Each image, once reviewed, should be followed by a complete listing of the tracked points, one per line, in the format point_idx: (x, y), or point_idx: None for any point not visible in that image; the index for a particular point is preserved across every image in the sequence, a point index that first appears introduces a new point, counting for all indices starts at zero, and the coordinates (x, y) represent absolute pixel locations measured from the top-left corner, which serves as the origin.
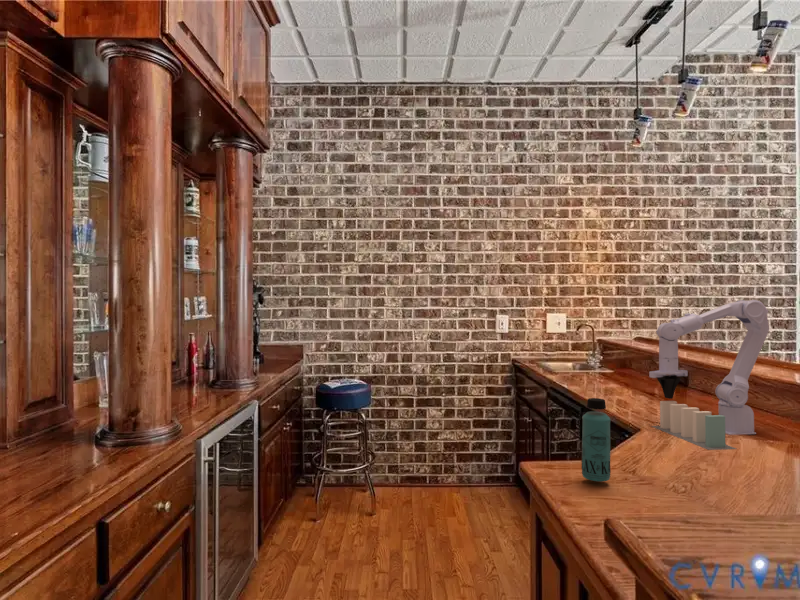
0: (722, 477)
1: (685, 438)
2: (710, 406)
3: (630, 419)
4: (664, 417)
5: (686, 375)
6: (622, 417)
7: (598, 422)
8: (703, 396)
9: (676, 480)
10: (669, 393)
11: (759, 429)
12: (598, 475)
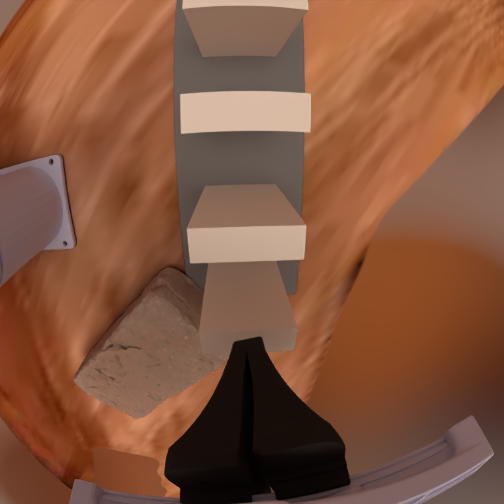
0: None
1: (284, 90)
2: (36, 423)
3: (293, 377)
4: (273, 278)
5: (82, 485)
6: (300, 394)
7: None
8: (43, 456)
9: None
10: (269, 359)
11: None
12: None
